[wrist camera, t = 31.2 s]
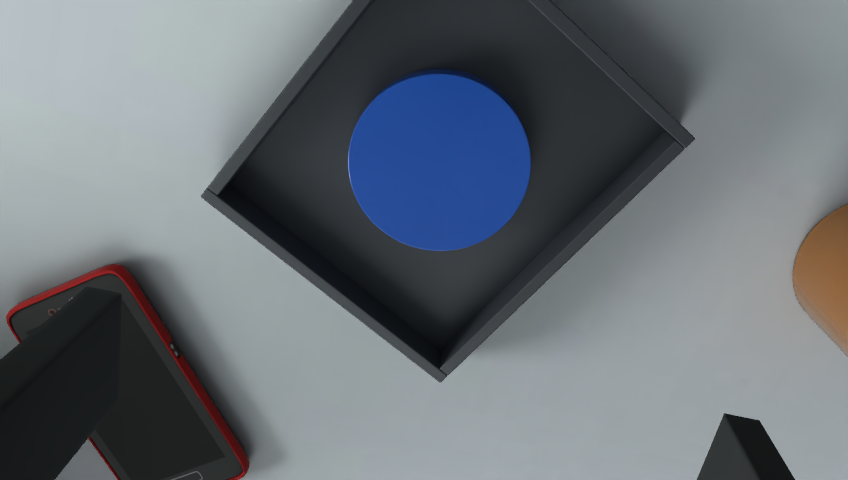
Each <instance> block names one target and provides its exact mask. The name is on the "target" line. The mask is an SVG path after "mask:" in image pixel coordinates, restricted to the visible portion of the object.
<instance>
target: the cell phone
mask: <svg viewBox="0 0 848 480" xmlns="http://www.w3.org/2000/svg"><path fill="white" fill-rule="evenodd" d="M86 286H88V287H93V288H98V289H103V290H108V291H113V292H118V293H122V304H121V336H120V368H119V399H118V401H117V403H116V404H115V405H114V406H113V408H112V409H111V410H110V411H109V413H108V414H107V415H106V416H105V418H104V419H103V420H102V421H101V423H100V424H99V425H98V426H97V427H96V429H95V430H94V431H93V432H92V434H91V435H90V436H89V437H88V439H89V440H90V442H91V443H92V444H93V446H94V447H95V449H96V450H97V451H98V453H99V454H100V456H101V457H102V458H103V460H104V461H105V463H106V464H107V465H108V467H109V468H110V469H111V471H112V472H113V474H114V475H115V476H116V478H117V479H118V480H239V479H241V478H242V477H243V476H244V475H245V474H246V473H247V470H248V468H249V461H248V459H247V456H246V454H245V452H244V450H243V449H242V447H241V446H240V444H239V443H238V441H237V440H236V438H235V436H234V435H233V433H232V432H231V430H230V429H229V427H228V425H227V424H226V422H225V421H224V419H223V418H222V416H221V415H220V413H219V411H218V410H217V408H216V407H215V405H214V404H213V402H212V400H211V399H210V397H209V396H208V394H207V393H206V391H205V390H204V388H203V386H202V385H201V383H200V382H199V380H198V379H197V377H196V375H195V374H194V372H193V371H192V369H191V368H190V366H189V365H188V363H187V361H186V360H185V358H184V357H183V355H182V354H181V353H180V352H179V350H178V349H177V347H176V346H175V344H174V343H173V341H172V337H171V335H170V334H169V332H168V331H167V329H166V328H165V326H164V325H163V323H162V321H161V320H160V318H159V317H158V315H157V314H156V312H155V311H154V309H153V307H152V306H151V304H150V303H149V301H148V300H147V298H146V297H145V295H144V293H143V292H142V290H141V289H140V287H139V286H138V284H137V283H136V281H135V280H134V278H133V277H132V275H131V274H130V273H129V272H128V271H127V270H126V269H125V268H124V267H123V266H122V265H118V264H111V265H107V266H104V267H101V268H98V269H96V270H94V271H91V272H89V273H87V274H84V275H82V276H80V277H78V278H75V279H73V280H71V281H68V282H66V283H64V284H61V285H59V286H57V287H54V288H52V289H50V290H47V291H45V292H43V293H41V294H38V295H36V296H34V297H31V298H29V299H27V300H25V301H23V302H21V303H19V304H17V305H16V306H15V307H13V308H12V309H11V310H10V311H9V312H8V314H7V316H6V317H7V324H8V326H9V327H10V329H11V331H12V332H13V334H14V335H15V337H16V338H17V340H18V341H19V343H21V342H22V341H23V340H24V339H25V338H26V337H28V336H29V335H30V334H31V333H32V332H33V331H35V330H36V329H37V328H38V327H39V326H40V325H42V324H43V323H44V322H45V321H46V320H48V319H49V318H50V317H51V316H52V315H53V314H55V313H56V312H57V311H58V310H59V309H60V308H62V307H63V306H64V305H65V304H66V303H67V302H69V301H70V300H71V299H72V298H73V297H74V296H76V295H77V294H78V293H79V292H80V291H81V290H83V289H84V288H85V287H86Z"/></svg>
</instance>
